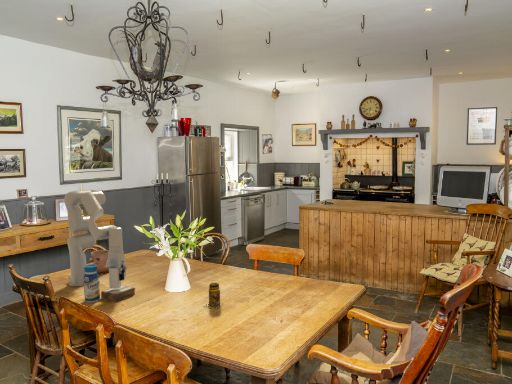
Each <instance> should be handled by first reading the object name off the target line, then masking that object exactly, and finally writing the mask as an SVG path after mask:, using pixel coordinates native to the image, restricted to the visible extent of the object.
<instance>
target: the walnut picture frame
mask: <svg viewBox="0 0 512 384" xmlns="http://www.w3.org/2000/svg"><path fill="white" fill-rule="evenodd" d="M100 293H101V294H100V299H103V300H107V301H111V302H115V303H116V302H119V301H122V300H124V299H127V298H129V297H132V296H134V295H135V294H136V293H135V287H132V286H127V285H123V284H121V287H120V288H116V289H112V288H110V287H109V288H107V289H105V290H101V291H100Z"/></svg>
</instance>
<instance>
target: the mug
mask: <svg viewBox="0 0 512 384" xmlns="http://www.w3.org/2000/svg"><path fill="white" fill-rule="evenodd" d="M121 271H122V269H121ZM119 274H120V272H119V269H117V268H110V266H109V271H108V282H109V283H108V284H109V289H110V288H112V289H116V288H120V287H121V285H122V282H123V281H125V279H126V276H127V270H126V271H125V273H124V280H121V281H120V280H119Z"/></svg>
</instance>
